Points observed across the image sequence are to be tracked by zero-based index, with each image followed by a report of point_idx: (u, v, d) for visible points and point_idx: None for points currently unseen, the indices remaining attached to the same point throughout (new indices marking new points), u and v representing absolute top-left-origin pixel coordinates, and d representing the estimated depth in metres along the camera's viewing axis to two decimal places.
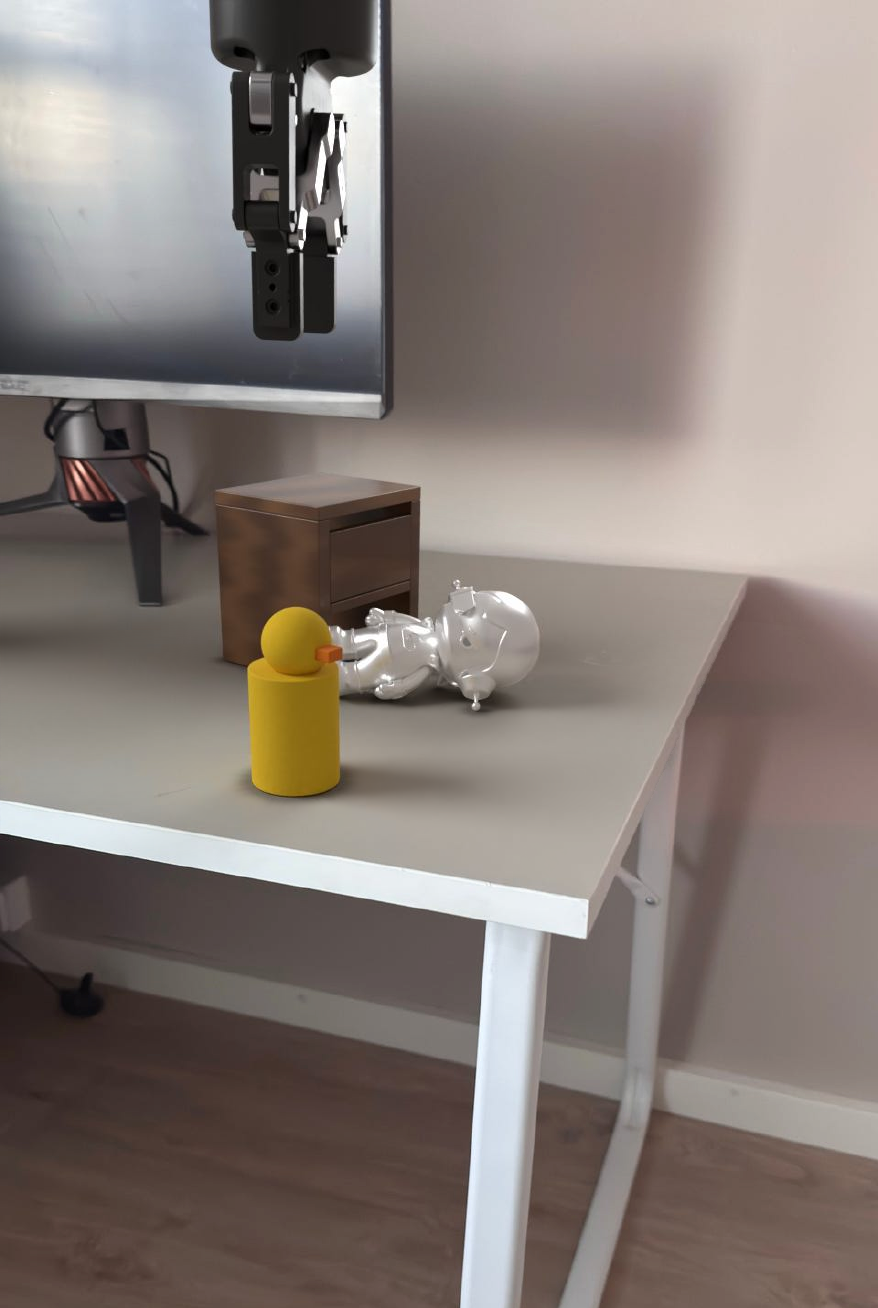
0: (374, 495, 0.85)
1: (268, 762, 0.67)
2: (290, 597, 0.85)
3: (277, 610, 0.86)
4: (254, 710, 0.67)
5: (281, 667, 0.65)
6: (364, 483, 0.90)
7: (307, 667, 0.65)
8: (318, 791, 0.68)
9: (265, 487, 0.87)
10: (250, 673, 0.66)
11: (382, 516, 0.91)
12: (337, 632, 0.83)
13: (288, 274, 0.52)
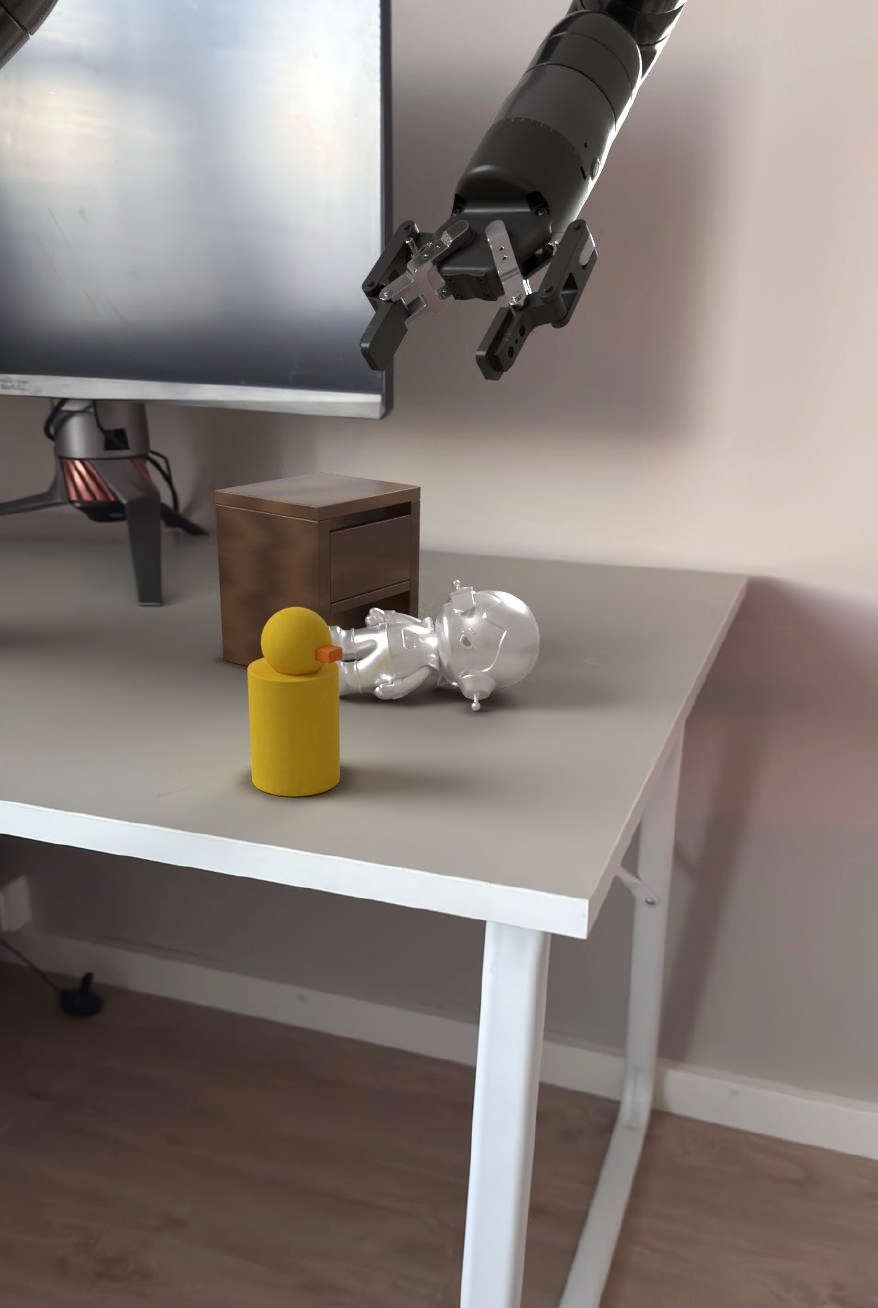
0: (374, 495, 0.85)
1: (268, 762, 0.67)
2: (290, 597, 0.85)
3: (277, 610, 0.86)
4: (254, 710, 0.67)
5: (281, 667, 0.65)
6: (364, 483, 0.90)
7: (307, 667, 0.65)
8: (318, 791, 0.68)
9: (265, 487, 0.87)
10: (250, 673, 0.66)
11: (382, 516, 0.91)
12: (337, 632, 0.83)
13: None
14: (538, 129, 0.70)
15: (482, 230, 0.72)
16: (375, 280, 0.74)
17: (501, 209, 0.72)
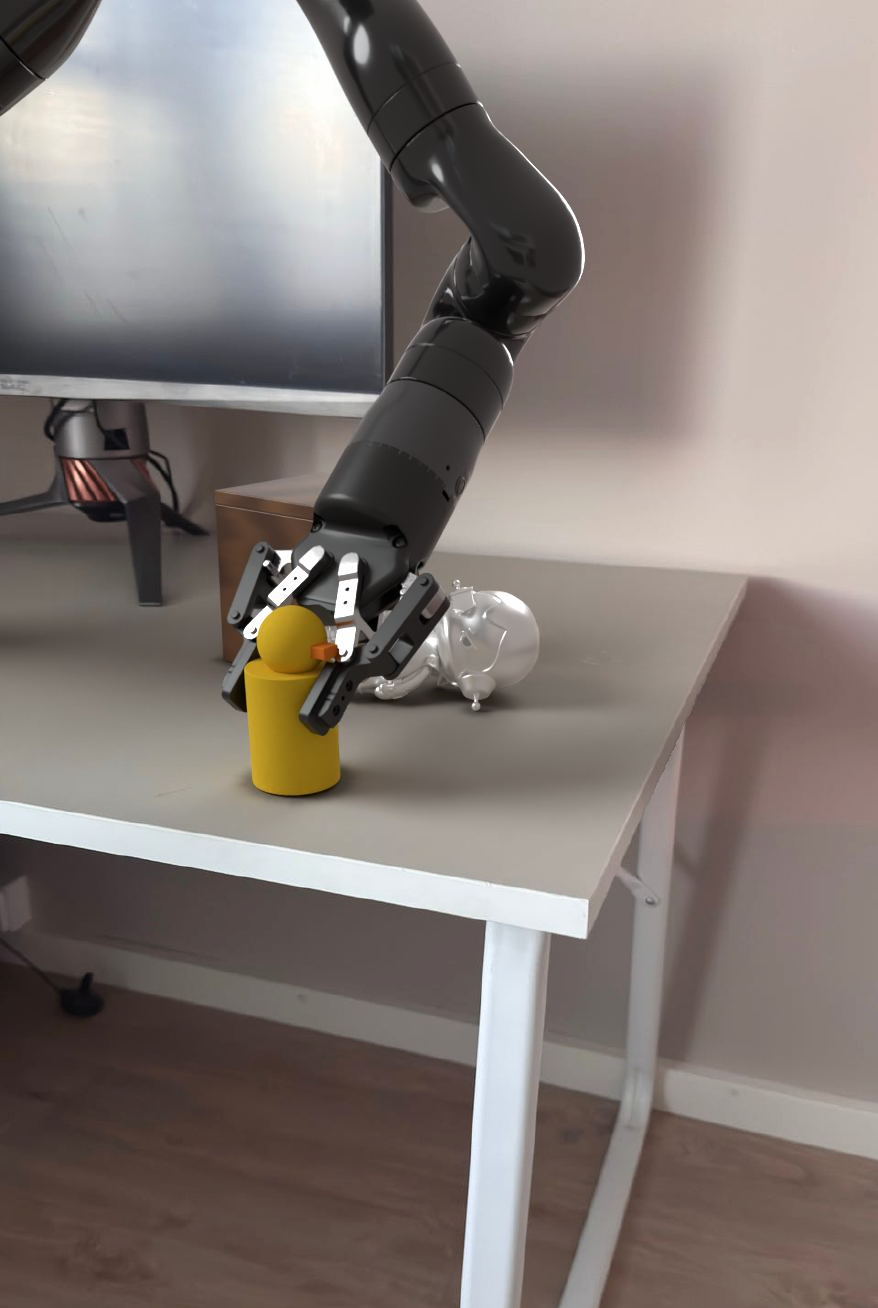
0: None
1: (267, 761, 0.67)
2: None
3: None
4: (251, 709, 0.67)
5: (277, 665, 0.65)
6: None
7: (303, 665, 0.65)
8: (318, 789, 0.68)
9: (265, 487, 0.87)
10: (247, 673, 0.66)
11: None
12: None
13: None
14: (395, 457, 0.67)
15: (340, 555, 0.69)
16: (240, 611, 0.70)
17: (359, 533, 0.69)
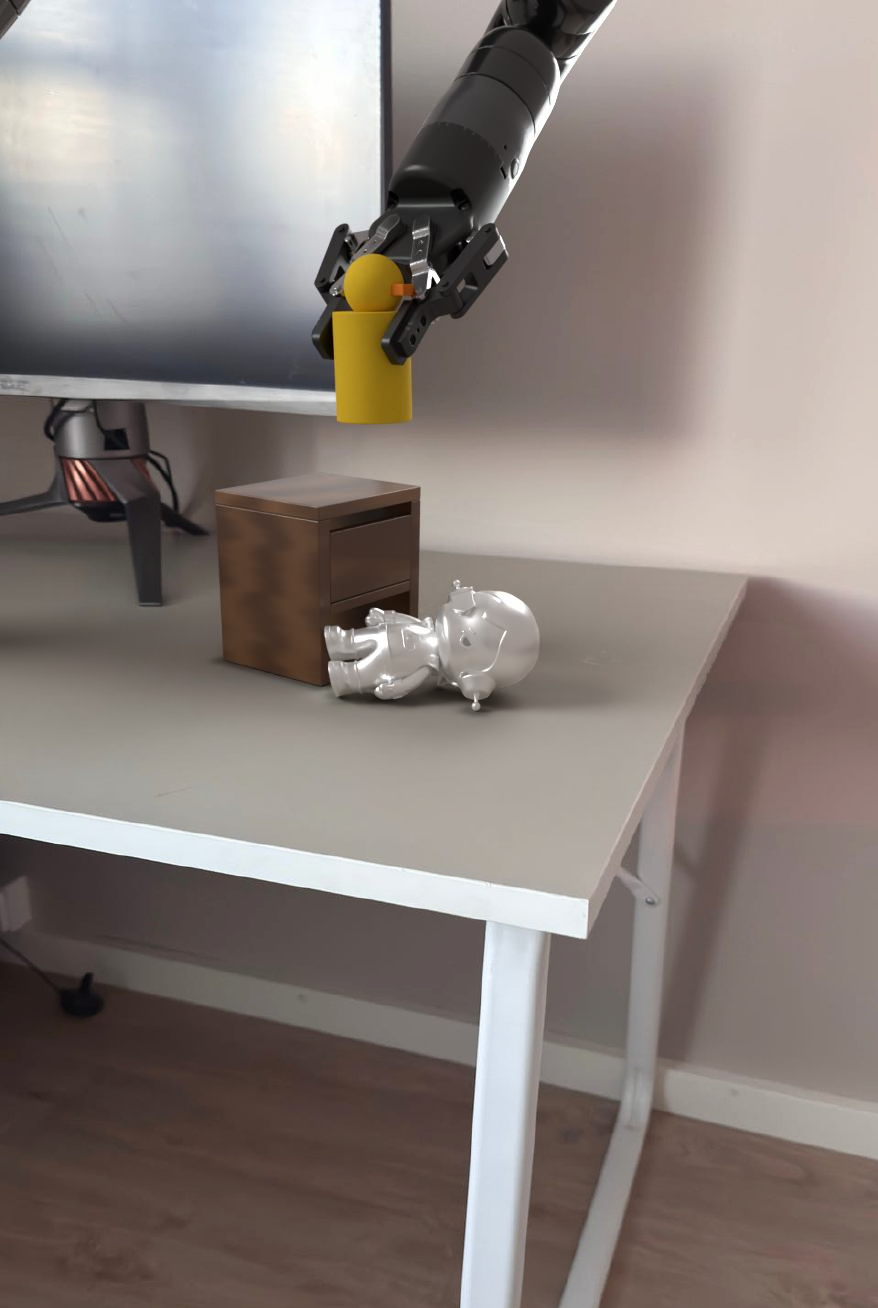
0: (374, 495, 0.85)
1: (352, 393, 0.78)
2: (290, 597, 0.85)
3: (277, 610, 0.86)
4: (339, 346, 0.78)
5: (362, 302, 0.76)
6: (364, 483, 0.90)
7: (384, 302, 0.76)
8: (395, 421, 0.79)
9: (265, 487, 0.87)
10: (335, 313, 0.77)
11: (382, 516, 0.91)
12: (337, 632, 0.83)
13: None
14: (461, 133, 0.78)
15: (412, 223, 0.80)
16: (326, 276, 0.81)
17: (429, 204, 0.80)
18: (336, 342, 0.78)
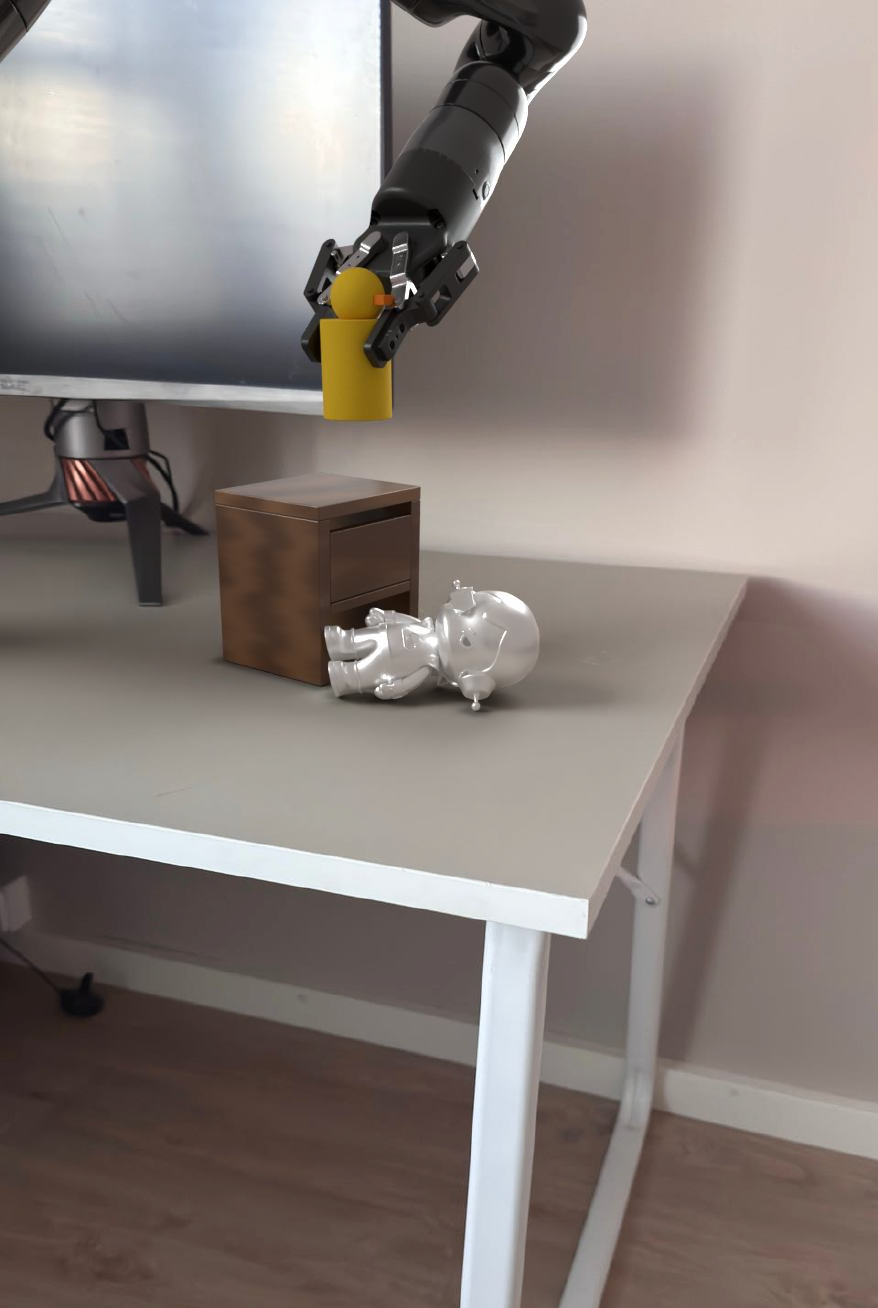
0: (374, 495, 0.85)
1: (337, 393, 0.86)
2: (290, 597, 0.85)
3: (277, 610, 0.86)
4: (325, 350, 0.86)
5: (347, 311, 0.85)
6: (364, 483, 0.90)
7: (367, 311, 0.85)
8: (376, 418, 0.87)
9: (265, 487, 0.87)
10: (322, 320, 0.85)
11: (382, 516, 0.91)
12: (337, 632, 0.83)
13: None
14: (436, 158, 0.87)
15: (392, 239, 0.88)
16: (314, 287, 0.89)
17: (407, 222, 0.88)
18: (323, 346, 0.86)
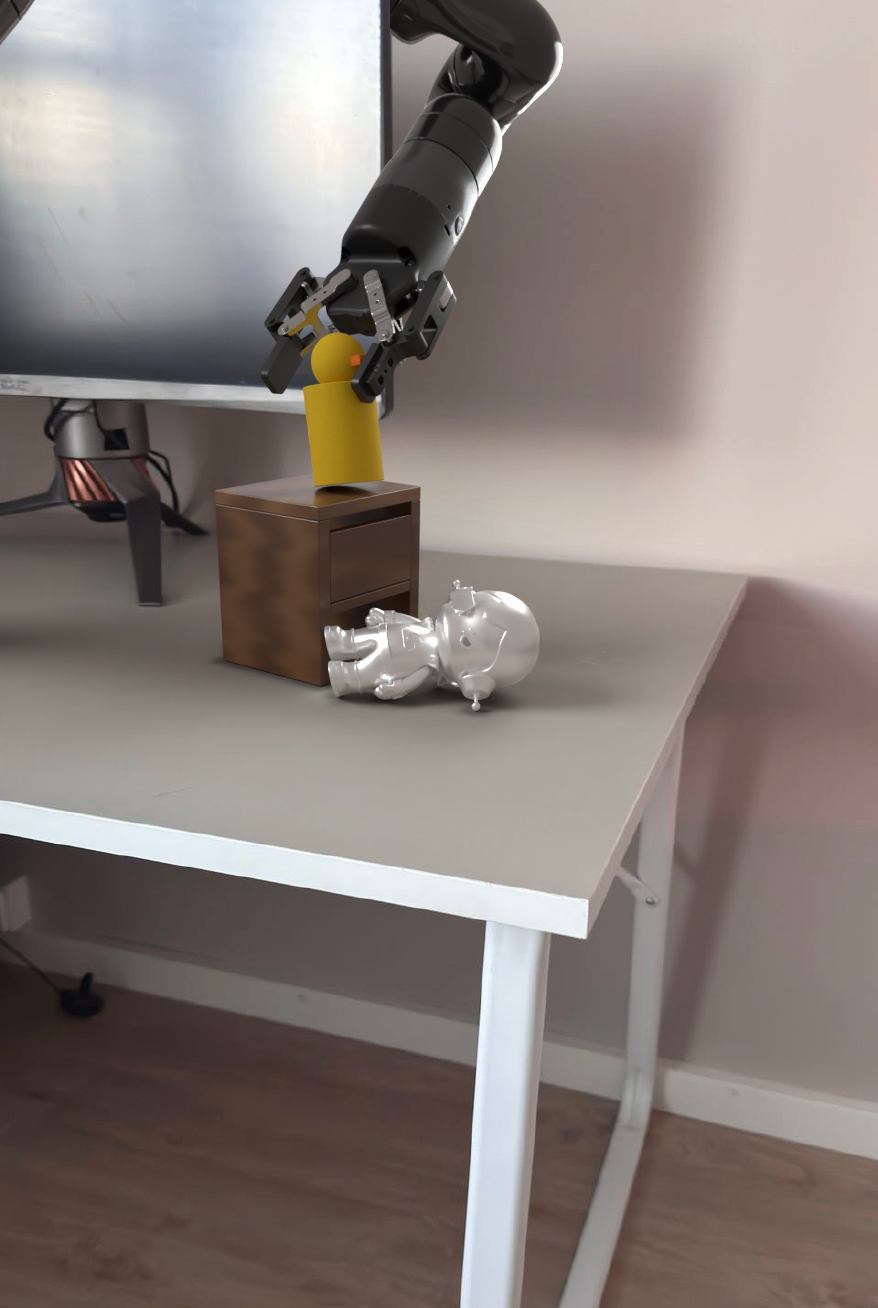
0: (374, 495, 0.85)
1: (321, 457, 0.84)
2: (290, 597, 0.85)
3: (277, 610, 0.86)
4: (308, 417, 0.85)
5: (325, 375, 0.83)
6: (364, 483, 0.90)
7: (345, 373, 0.83)
8: (363, 479, 0.85)
9: (265, 487, 0.87)
10: (304, 387, 0.84)
11: (382, 516, 0.91)
12: (337, 632, 0.83)
13: None
14: (407, 194, 0.85)
15: (363, 277, 0.86)
16: (275, 318, 0.88)
17: (378, 260, 0.86)
18: (306, 414, 0.85)
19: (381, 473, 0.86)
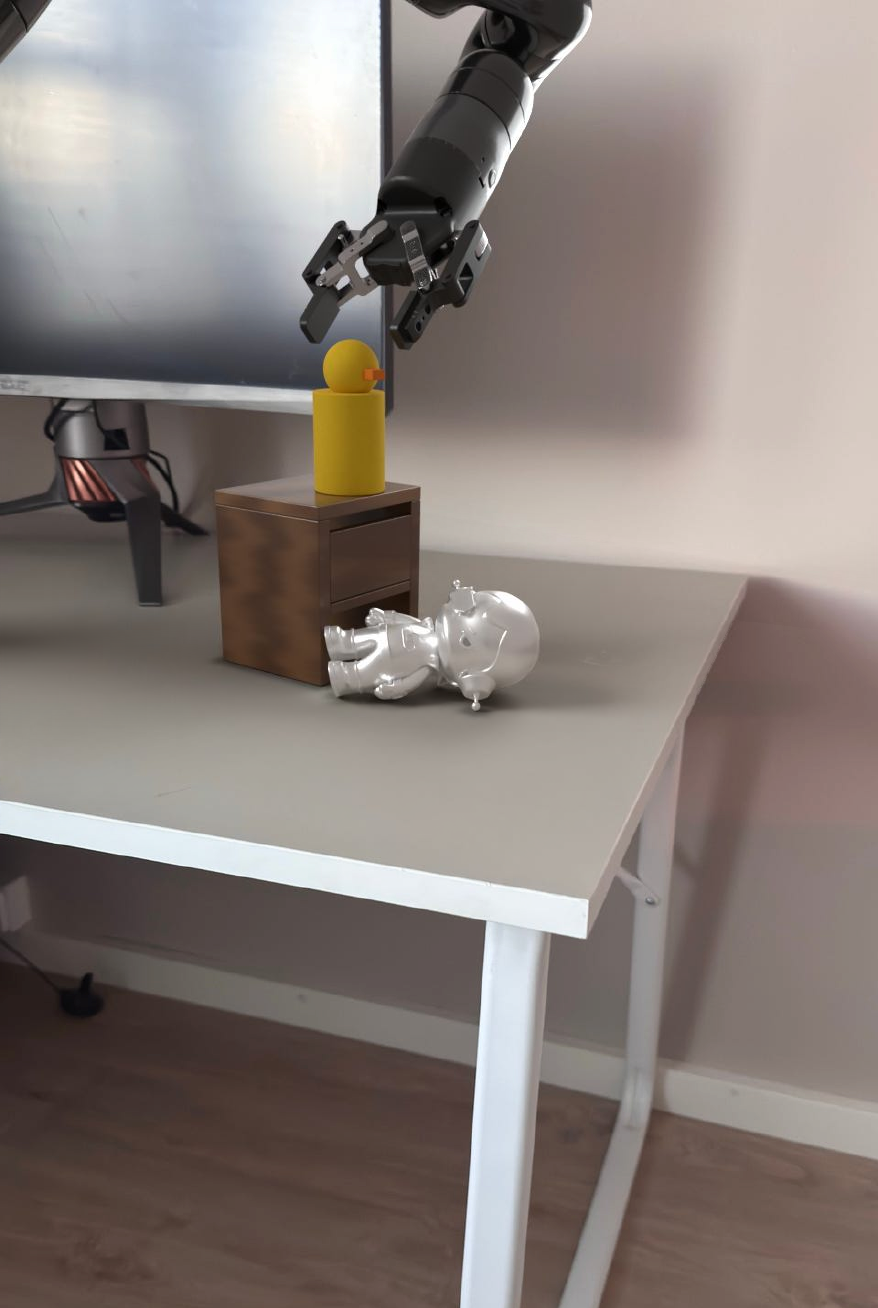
0: (374, 495, 0.85)
1: (325, 466, 0.84)
2: (290, 597, 0.85)
3: (277, 610, 0.86)
4: (315, 423, 0.84)
5: (336, 385, 0.83)
6: None
7: (357, 385, 0.82)
8: (364, 493, 0.85)
9: (265, 487, 0.87)
10: (313, 392, 0.84)
11: (382, 516, 0.91)
12: (337, 632, 0.83)
13: None
14: (442, 146, 0.87)
15: (399, 228, 0.88)
16: (313, 269, 0.90)
17: (414, 211, 0.88)
18: (314, 419, 0.84)
19: (383, 485, 0.86)
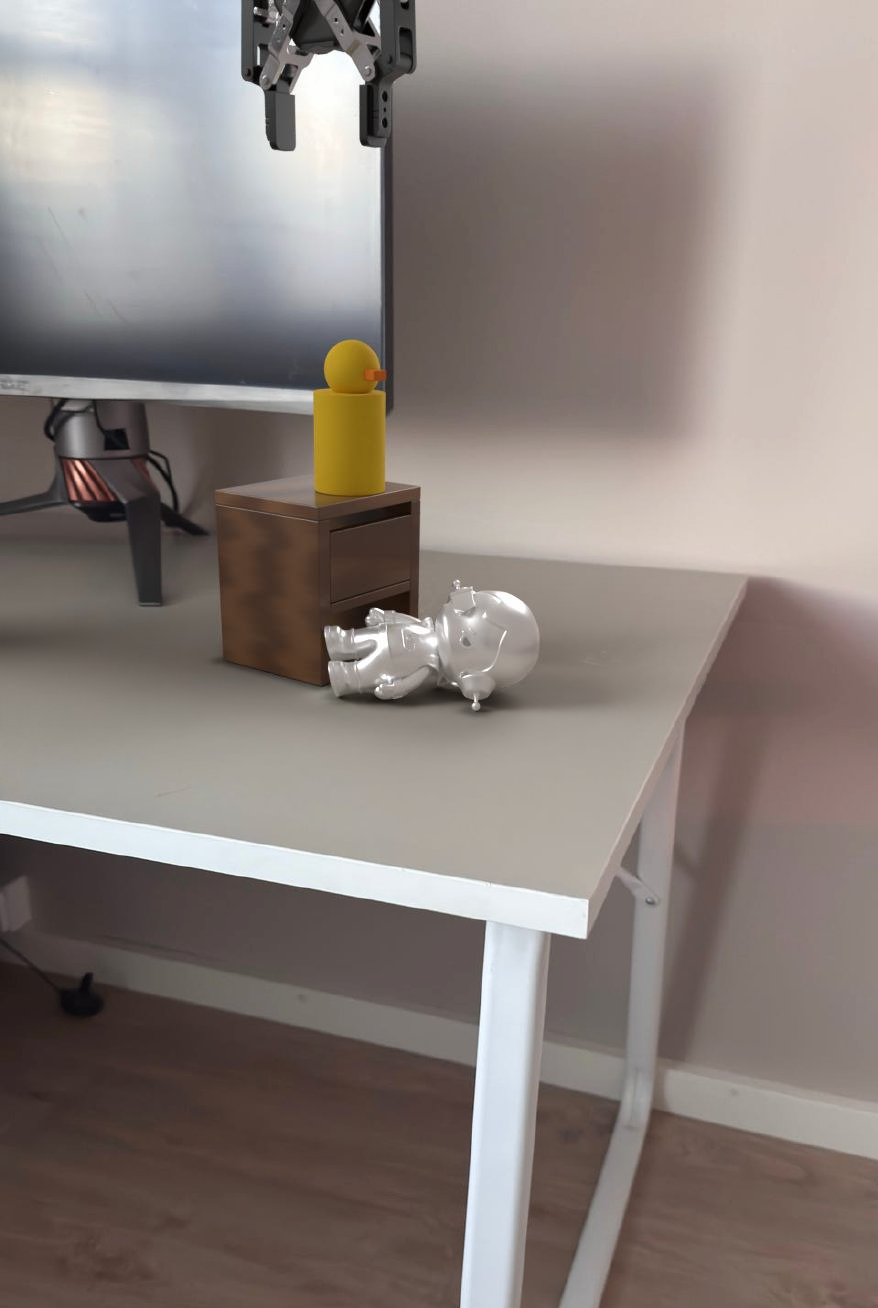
0: (374, 495, 0.85)
1: (325, 466, 0.84)
2: (290, 597, 0.85)
3: (277, 610, 0.86)
4: (316, 423, 0.84)
5: (337, 385, 0.83)
6: None
7: (357, 385, 0.82)
8: (364, 493, 0.85)
9: (265, 487, 0.87)
10: (314, 392, 0.84)
11: (382, 516, 0.91)
12: (337, 632, 0.83)
13: None
14: None
15: None
16: (249, 67, 0.85)
17: None
18: (314, 419, 0.84)
19: (383, 486, 0.86)
